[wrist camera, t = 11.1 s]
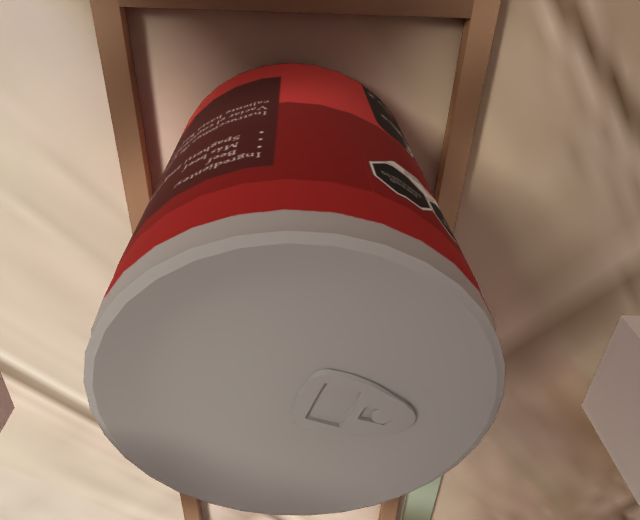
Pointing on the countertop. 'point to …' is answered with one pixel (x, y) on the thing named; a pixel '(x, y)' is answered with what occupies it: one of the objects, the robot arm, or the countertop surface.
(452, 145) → the frame
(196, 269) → the canned food
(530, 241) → the countertop surface
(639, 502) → the robot arm
